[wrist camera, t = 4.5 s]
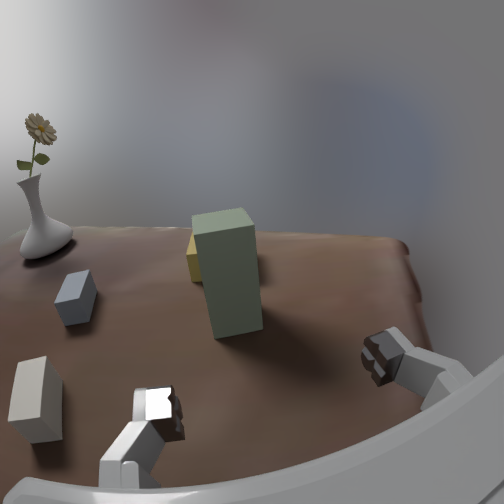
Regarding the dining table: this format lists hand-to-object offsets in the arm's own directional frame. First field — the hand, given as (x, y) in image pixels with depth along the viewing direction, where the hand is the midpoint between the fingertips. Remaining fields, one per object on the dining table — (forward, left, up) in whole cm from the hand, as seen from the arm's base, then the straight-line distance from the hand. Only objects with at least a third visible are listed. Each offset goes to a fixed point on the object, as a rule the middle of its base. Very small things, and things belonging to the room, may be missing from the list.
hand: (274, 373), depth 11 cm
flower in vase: (+11, +48, -7) cm, 50 cm away
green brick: (+9, +8, -7) cm, 14 cm away
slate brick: (+4, +24, -7) cm, 25 cm away
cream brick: (-7, +15, -7) cm, 18 cm away
